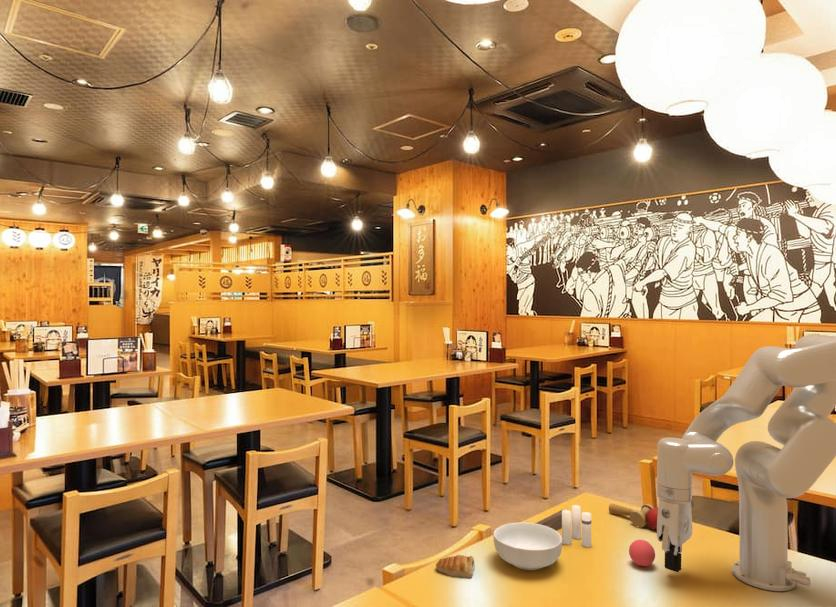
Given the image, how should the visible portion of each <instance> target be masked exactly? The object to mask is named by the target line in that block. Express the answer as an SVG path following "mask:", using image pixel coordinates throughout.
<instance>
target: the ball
mask: <svg viewBox="0 0 836 607" xmlns="http://www.w3.org/2000/svg"><path fill="white" fill-rule="evenodd" d="M655 551H656V550H655V549H654V547H653V545H652V544H651V543H650V542H648V541H647V540H644V539H636V540H633V541H632V542H631V544H630V545H629V547H628V554H629V556H630V559H631V560H632V561H633V563H635V564H636V565H638V566H640V567H648V566H651V565H652V564H653V563H654V561H655V559H656V552H655Z"/></svg>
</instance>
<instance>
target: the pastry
mask: <svg viewBox="0 0 836 607" xmlns="http://www.w3.org/2000/svg"><path fill="white" fill-rule="evenodd" d="M435 567H436V570H437V571H438V572H439V573H441V574H445V575H447V576H450V577H458V578H463V579H464V578H466V579H470V578H472V577H473V576H474V575H475V574H474V570H475V569H476V564H475V559H474V556H472V555H470V556H468V555H461V554H456V555H455V556H454V555H452V556H447V557H445V558H443V557H442V558H441V559H438V561H437V562H436V563H435Z"/></svg>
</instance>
